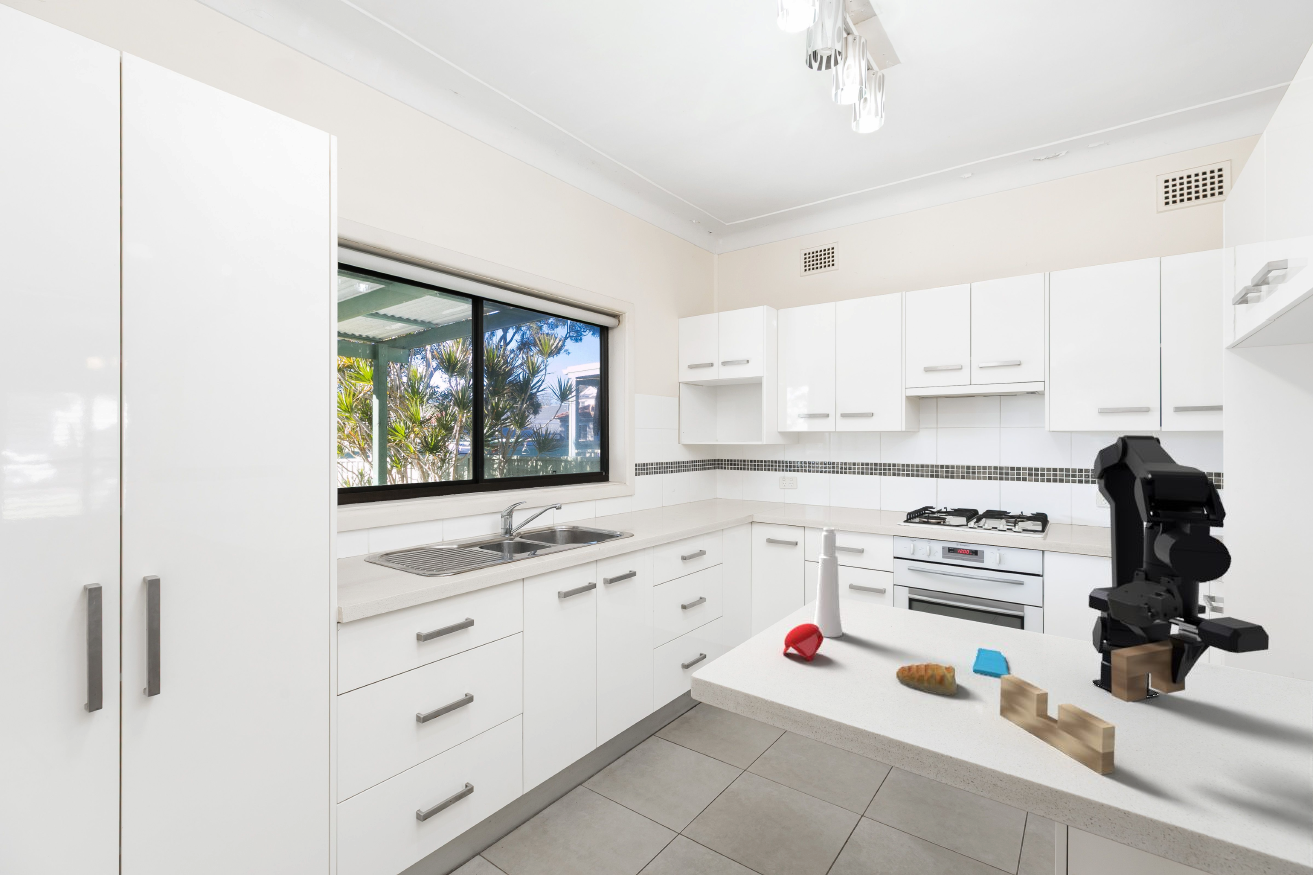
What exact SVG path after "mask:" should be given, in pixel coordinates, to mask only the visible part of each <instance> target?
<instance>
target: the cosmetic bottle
mask: <svg viewBox="0 0 1313 875" xmlns="http://www.w3.org/2000/svg"><path fill="white" fill-rule="evenodd" d="M835 530H836V529H835V527H831V526H830V527H829V526H828V527H827V526H826V527H823V532H822V533H821V554H820V555H819V559H818V560H819V561H818V562H819V563H818V573H817V574H818V575H817V576H818V577H817V588H816V589H817V591H816V592H817V593H816V603H815V613H814V614H815V615H814V618H813V619H814V621H813V624H815V625H817V626H818V627H819V630H820V632H821V633H822V636H823V638H839V637H841V636H842V635H843V627H842V620H841V609H840V593H839V591H840V588H839V586H840V585H839V558H838V556H837V554H836V550H837V545H836V543H837V542H836V540H837V534H836V532H835Z"/></svg>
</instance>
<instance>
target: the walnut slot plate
mask: <svg viewBox="0 0 1313 875" xmlns="http://www.w3.org/2000/svg"><path fill="white" fill-rule="evenodd" d="M1171 668H1172V644H1171V643H1170V641H1169V640H1167V641H1161V642H1156V643H1151V644H1145V645H1140V646H1135V647H1129V648H1124V649H1118V650H1113V651H1111V670H1112V692H1111V696H1112V697H1114V698H1116V699H1119V700H1121V701H1123V702H1126V703H1130V702H1135V701H1140V700H1144V699H1147V698H1148V697H1147V687H1146V674H1149V673H1150V674H1149V678H1150V689H1152V690H1155V691H1156V690H1157V692H1161V693H1163V694H1166V695H1167V694H1171V693H1172V694H1173V693H1176V692H1180V691H1181V692H1182V691H1186V678H1185V679H1184V680H1183V682H1182V683H1181V684H1174V683H1173V682H1172V674H1171Z"/></svg>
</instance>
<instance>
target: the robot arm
mask: <svg viewBox="0 0 1313 875" xmlns="http://www.w3.org/2000/svg"><path fill="white" fill-rule="evenodd" d="M1093 477H1094V479H1095V480H1096V481H1097V489H1098V491H1099V493H1100V494H1101V495H1102V497H1103V498H1104V499H1105V501H1106V502H1107V503H1108V505H1109V511H1110V513H1109V514H1110V515H1109V517H1110V518H1109V519H1110V522H1109V523H1110V554H1111V557H1110V558H1111V559H1110V560H1111V563H1110V564H1111V586H1109V587H1097V588H1096V587H1095V588H1093V589H1092V590H1091V592H1090V593H1089V595H1088V608H1090V609H1094V610H1097V611H1100V616H1099V615H1098V616H1097V618H1096V621H1095V623H1094V626H1093V629H1092V645H1093V647H1094V649H1095V650H1096V652H1097V653H1098V654H1101V661H1100V674H1099V675H1100V677H1099V678H1100V679H1099V678H1098V679H1092V682H1093V683H1094V684H1093V683H1092V682H1091V683H1092V684H1093V685H1095V684H1096V685H1095V686H1097V685H1099V686H1101V687H1100V688H1102V687H1103V688H1102V689H1104V688H1105V689H1104V690H1106V689H1107V690H1106V691H1108V690H1109V691H1108V692H1110V691H1111V693H1112V670H1111V651H1113V650H1118V649H1124V648H1129V647H1135V646H1140V645H1145V644H1151V643H1156V642H1161V641H1167V640H1169V641H1170V643H1171V644H1172V668H1171V674H1172V682H1173V683H1174V684H1181V683H1182V682H1183V680H1184V679H1185V680H1186V677H1187V676H1188V675H1189V673H1190V671H1191V670H1193V667H1194V666H1195V664H1196V663H1197V662H1198V660H1199V659H1200V658H1201V656H1202V655H1203V654H1204V653H1205V652H1206V651H1207V650H1208V649H1209V648H1210V647H1212V648H1215V649H1218V650H1222V651H1225V652H1227V653H1234V654H1242V653H1252V652H1259V651H1267V650H1268V651H1269V640H1270V637H1269V634H1268V633H1267V631H1266V630H1265V628H1264V627H1263V626H1262V625H1260V624H1257V623H1253V622H1250V621H1245V620H1242V619H1239V618H1235V617H1232V616H1231V617H1230V616H1226V617H1215V618H1205V617H1202V616H1199V615H1203V614H1204V615H1205V614H1206V613H1207V606H1206V605H1204V604H1200V603H1199V601H1200V600H1199V599H1200V584H1201V583H1202V584H1204V583H1205V584H1206V583H1208V582H1211V581H1216V580H1218V579H1219V578H1222V577H1223V576H1224V575H1225V574H1226V573H1228V571H1229V569H1230V568H1231V564H1232V555H1231V554H1230V550H1229V549H1228V548H1227V546H1226V545H1225V544H1224V542H1222V541H1221V540H1219V539H1218V538H1216V537H1215V536H1212V535H1211V528H1224V527H1225V526H1224V525H1225V524H1224V520H1225V518H1226V515H1227V513H1226V510H1225V507H1224V504H1223V502H1222V499H1221V496H1220V493H1219V490H1218V489H1217V488H1216V486H1215V483H1214V481H1213V480H1212V479H1210V478H1209V476H1208V475H1207V473H1206V472H1204V471H1203V470H1200V469H1199V468H1196V467H1193V466H1187V465H1183V464H1182V465H1181V464H1179V463H1177V462H1176V461H1175V460H1174V459H1173V457H1172V456H1171V455H1170V454H1169V453H1168V451H1166V450H1165V449H1164V447H1163V446H1162V445H1161V440H1160V438H1159V437H1157V436H1156V437H1155V436H1154V435H1141V434H1140V435H1139V434H1138V435H1137V434H1135V435H1134V434H1133V435H1129V434H1128V435H1127V434H1124V435H1123V436H1118V438H1117V439H1116V440H1115V442H1114V443H1112V444H1110V445H1108V446H1106V447H1104V448H1102V449H1099V451H1098V452H1097V455H1096V457H1095V459H1094V462H1093ZM1173 625H1174V626H1178V630H1177V632H1178V633H1177V632H1176V633H1171V631H1172V626H1173ZM1099 686H1098V687H1099ZM1146 687H1147V696H1153V695H1157V694H1159V695H1160V692H1159V691H1156V690H1155V689H1153V688H1150V673H1149V674H1146Z"/></svg>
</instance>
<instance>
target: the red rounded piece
mask: <svg viewBox="0 0 1313 875" xmlns="http://www.w3.org/2000/svg"><path fill="white" fill-rule="evenodd" d="M783 642H784V649H783V651H782V655H785V654H786V653H787V652H788V651H789V649H790V648H792V649H793V650H794V651H796V652H797V654H798V655H800V656H802V657H804V658H805V660H806V661H813V660H814V657H815V655H816V653H817V652H818V651H819V649H820V647H821V646H822V644H823V642H824V637H823V636H822V633H821V632H820V630H819V627H818V626H817V625H815V624H814V623H811V622H810V623H802V624H799V625H797V626H795V627H793V629H791V630H790V631H788V633H787V634H786V636H785V638H784V641H783Z"/></svg>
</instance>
